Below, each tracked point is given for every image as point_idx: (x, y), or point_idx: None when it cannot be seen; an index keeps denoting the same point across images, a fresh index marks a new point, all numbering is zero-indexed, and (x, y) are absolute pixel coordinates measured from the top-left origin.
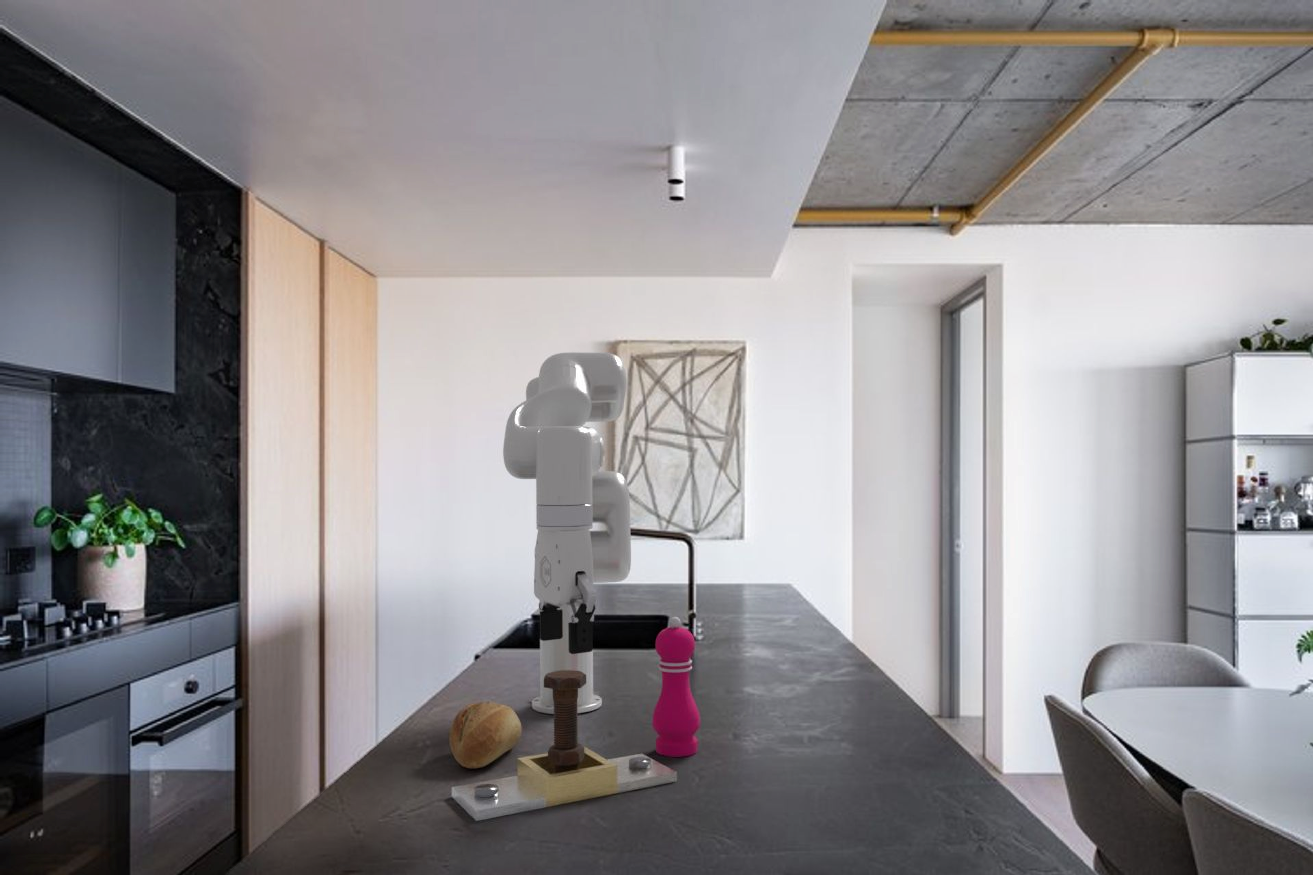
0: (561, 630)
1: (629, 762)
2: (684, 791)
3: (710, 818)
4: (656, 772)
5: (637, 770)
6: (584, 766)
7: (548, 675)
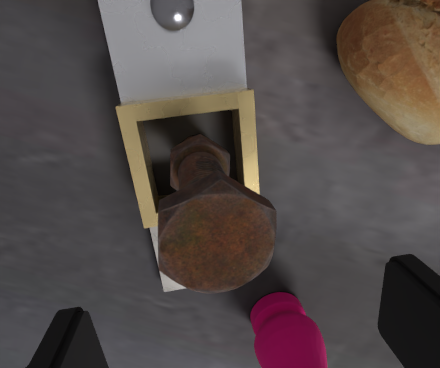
0: (397, 355)
1: None
2: (124, 281)
3: (17, 280)
4: None
5: None
6: None
7: (219, 196)
